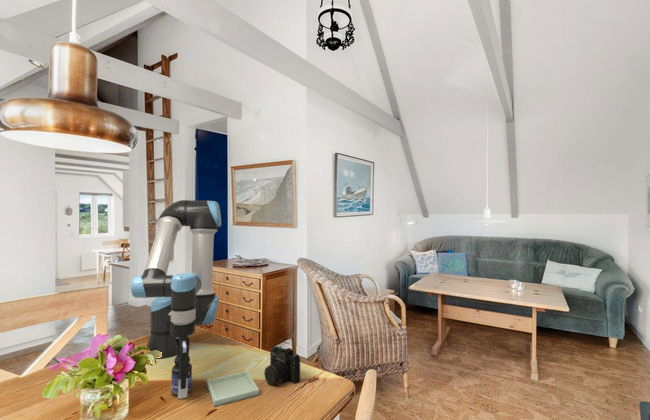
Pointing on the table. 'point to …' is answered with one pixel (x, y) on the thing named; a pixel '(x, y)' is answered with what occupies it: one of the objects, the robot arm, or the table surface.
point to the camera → (283, 366)
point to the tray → (231, 388)
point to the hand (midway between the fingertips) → (181, 391)
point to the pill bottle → (176, 374)
